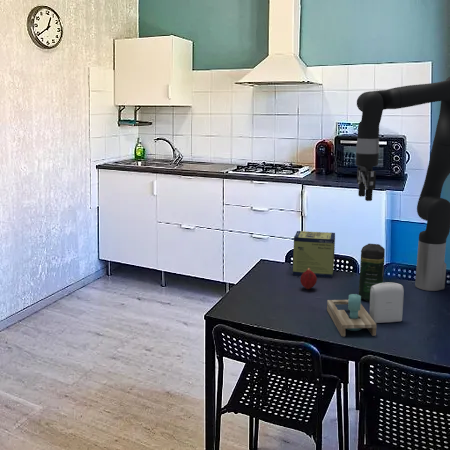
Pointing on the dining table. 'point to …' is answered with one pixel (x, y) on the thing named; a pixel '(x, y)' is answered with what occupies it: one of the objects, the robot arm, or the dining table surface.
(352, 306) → the peg
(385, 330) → the dining table surface
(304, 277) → the red pomegranate
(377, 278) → the coffee jar
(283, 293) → the dining table surface
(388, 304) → the photo printer
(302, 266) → the protein box
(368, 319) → the keyhole plate
